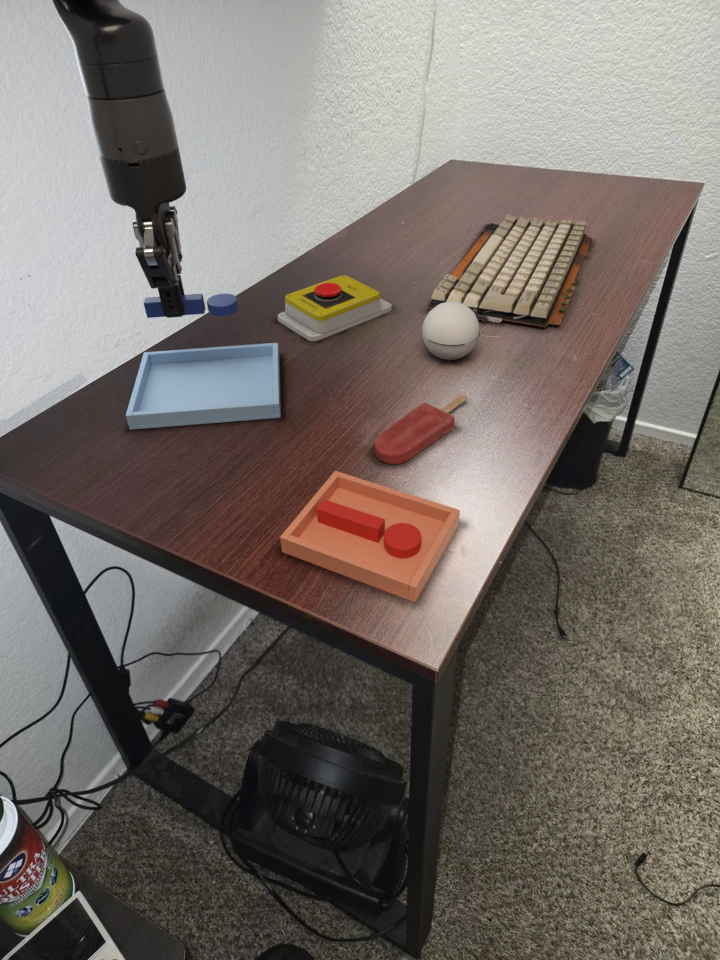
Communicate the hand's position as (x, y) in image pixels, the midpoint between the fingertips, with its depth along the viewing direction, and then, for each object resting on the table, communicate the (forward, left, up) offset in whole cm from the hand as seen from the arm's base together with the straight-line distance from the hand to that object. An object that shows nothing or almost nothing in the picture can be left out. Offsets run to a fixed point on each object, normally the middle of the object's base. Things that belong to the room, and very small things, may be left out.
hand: (175, 311), depth 74 cm
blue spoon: (+2, 0, 0) cm, 2 cm away
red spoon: (+19, -28, -10) cm, 35 cm away
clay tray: (+19, -28, -11) cm, 35 cm away
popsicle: (+27, -12, -11) cm, 31 cm away
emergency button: (+19, +18, -11) cm, 28 cm away
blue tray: (+2, 0, -11) cm, 11 cm away
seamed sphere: (+34, +3, -11) cm, 36 cm away
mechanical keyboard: (+49, +28, -11) cm, 58 cm away
